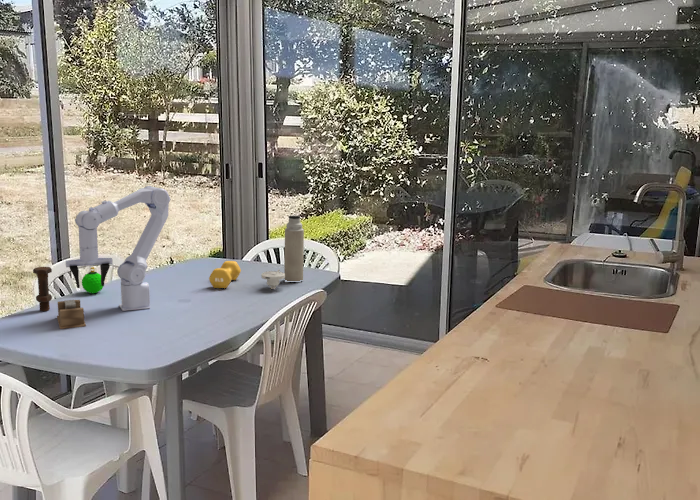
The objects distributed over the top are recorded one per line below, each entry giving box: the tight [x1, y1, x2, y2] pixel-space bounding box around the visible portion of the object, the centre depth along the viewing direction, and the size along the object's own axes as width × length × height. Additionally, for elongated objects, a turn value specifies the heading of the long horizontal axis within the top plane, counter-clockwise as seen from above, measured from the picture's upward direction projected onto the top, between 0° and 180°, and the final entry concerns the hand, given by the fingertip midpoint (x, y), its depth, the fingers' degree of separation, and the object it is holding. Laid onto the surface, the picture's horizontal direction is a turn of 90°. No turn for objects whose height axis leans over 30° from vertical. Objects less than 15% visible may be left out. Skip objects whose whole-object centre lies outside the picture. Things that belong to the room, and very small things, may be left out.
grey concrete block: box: [63, 299, 76, 309], centre depth 213 cm, size 3×6×6 cm, turn 27°
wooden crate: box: [56, 299, 87, 330], centre depth 214 cm, size 8×14×6 cm, turn 27°
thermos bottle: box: [283, 214, 305, 281], centre depth 276 cm, size 8×8×28 cm
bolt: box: [32, 266, 53, 312], centre depth 224 cm, size 6×5×15 cm
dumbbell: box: [208, 260, 242, 290], centre depth 270 cm, size 19×9×8 cm, turn 174°
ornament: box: [81, 266, 105, 294], centre depth 249 cm, size 8×8×10 cm
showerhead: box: [260, 268, 285, 290], centre depth 263 cm, size 9×7×10 cm
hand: (90, 286), depth 221 cm, fingers open, 7 cm apart
